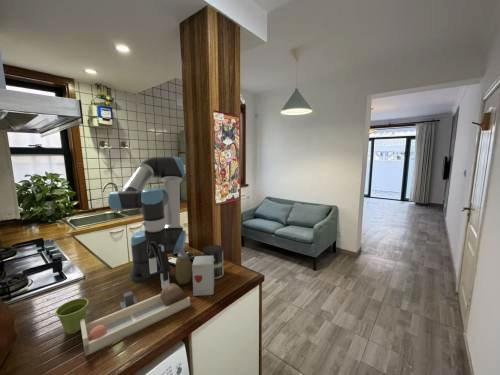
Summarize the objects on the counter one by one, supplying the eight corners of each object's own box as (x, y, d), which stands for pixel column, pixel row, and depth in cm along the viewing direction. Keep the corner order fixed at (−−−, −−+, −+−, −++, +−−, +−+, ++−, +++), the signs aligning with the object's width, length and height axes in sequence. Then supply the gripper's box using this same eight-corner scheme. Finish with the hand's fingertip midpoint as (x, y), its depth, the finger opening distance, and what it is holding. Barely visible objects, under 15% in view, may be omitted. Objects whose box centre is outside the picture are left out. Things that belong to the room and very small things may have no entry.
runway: (82, 335, 78) (79, 320, 77) (179, 293, 101) (178, 281, 100) (85, 356, 70) (82, 339, 69) (190, 305, 93) (189, 292, 92)
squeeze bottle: (191, 285, 107) (189, 249, 105) (174, 287, 106) (172, 251, 104) (193, 276, 115) (191, 243, 113) (177, 277, 114) (174, 244, 111)
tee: (119, 304, 94) (118, 293, 93) (135, 298, 98) (134, 287, 97) (122, 311, 90) (121, 300, 89) (138, 305, 93) (137, 294, 93)
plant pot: (85, 334, 78) (82, 312, 77) (52, 341, 76) (49, 318, 74) (95, 316, 87) (92, 296, 86) (66, 321, 85) (63, 300, 83)
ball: (92, 322, 74) (84, 335, 74) (95, 335, 71) (87, 348, 71) (108, 321, 78) (100, 333, 78) (111, 332, 75) (103, 345, 75)
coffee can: (217, 281, 111) (216, 254, 109) (200, 276, 115) (199, 251, 113) (227, 271, 120) (226, 246, 118) (211, 267, 124) (210, 243, 122)
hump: (161, 305, 93) (159, 287, 92) (179, 297, 98) (178, 280, 97) (166, 312, 89) (165, 294, 88) (185, 303, 94) (184, 286, 93)
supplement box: (192, 296, 99) (191, 264, 97) (195, 284, 108) (194, 255, 105) (213, 295, 100) (212, 263, 97) (214, 283, 108) (213, 254, 106)
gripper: (135, 223, 92) (140, 270, 96) (156, 241, 74) (160, 298, 77) (154, 219, 97) (158, 264, 101) (177, 235, 78) (181, 290, 82)
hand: (159, 279), depth 89 cm, fingers open, 13 cm apart
